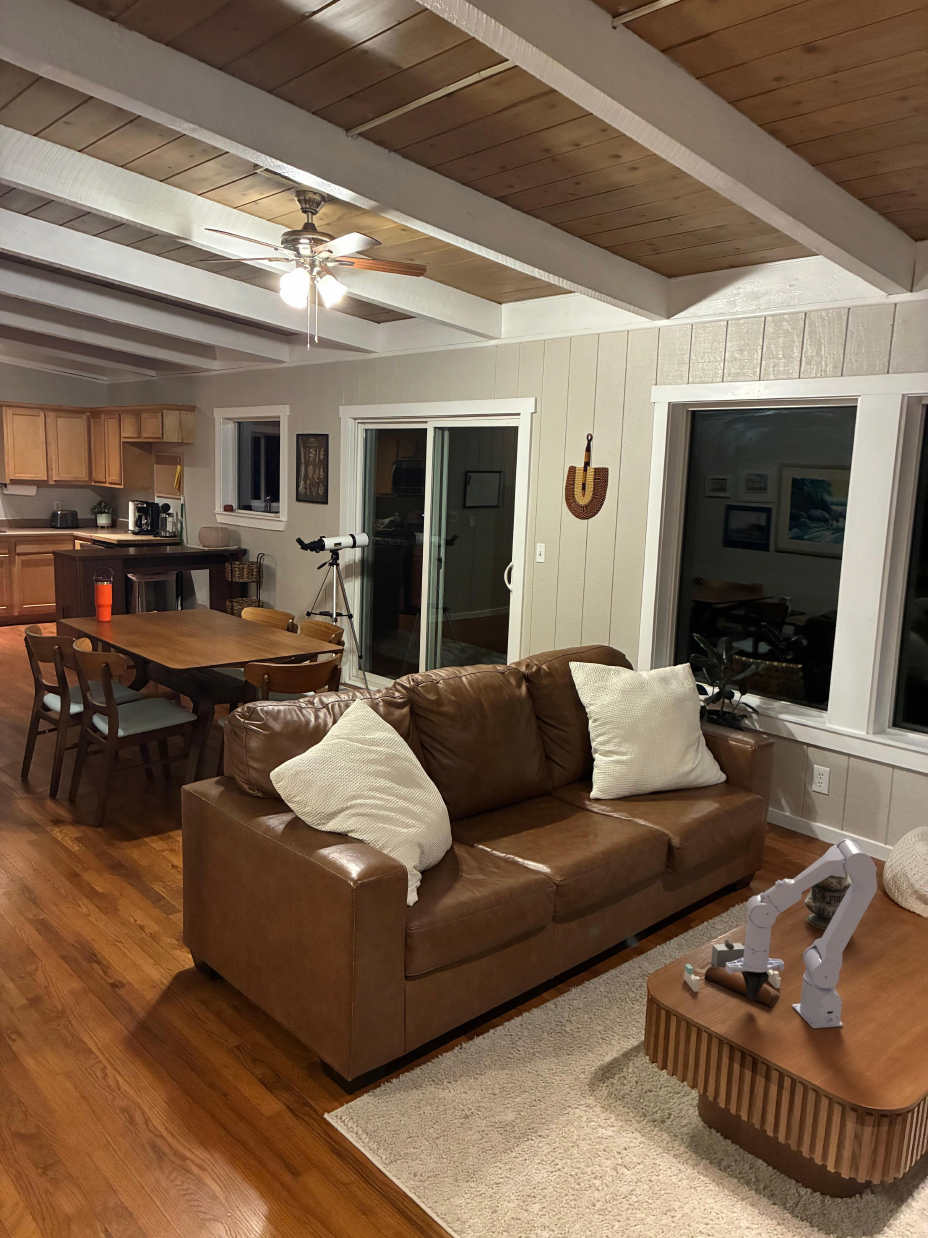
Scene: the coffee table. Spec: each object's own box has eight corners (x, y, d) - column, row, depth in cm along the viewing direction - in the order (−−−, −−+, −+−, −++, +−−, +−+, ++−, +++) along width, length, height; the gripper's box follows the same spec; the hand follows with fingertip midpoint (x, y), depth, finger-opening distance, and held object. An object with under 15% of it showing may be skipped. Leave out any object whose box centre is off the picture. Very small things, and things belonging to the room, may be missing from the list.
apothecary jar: (842, 937, 260) (849, 878, 257) (798, 925, 266) (805, 867, 263) (849, 921, 270) (856, 863, 268) (807, 909, 276) (813, 853, 274)
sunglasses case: (784, 994, 229) (781, 978, 225) (773, 1017, 225) (769, 1002, 221) (718, 967, 240) (714, 951, 237) (706, 988, 237) (702, 973, 233)
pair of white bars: (779, 988, 232) (781, 973, 231) (696, 994, 227) (697, 979, 227) (757, 965, 242) (759, 951, 242) (677, 970, 238) (678, 956, 237)
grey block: (744, 966, 242) (746, 944, 241) (716, 968, 240) (718, 946, 239) (738, 960, 245) (740, 939, 244) (711, 962, 243) (713, 940, 242)
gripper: (775, 936, 225) (770, 986, 227) (721, 939, 222) (716, 990, 224) (791, 950, 218) (785, 1002, 220) (735, 954, 215) (730, 1007, 218)
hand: (751, 998), depth 222 cm, fingers closed
